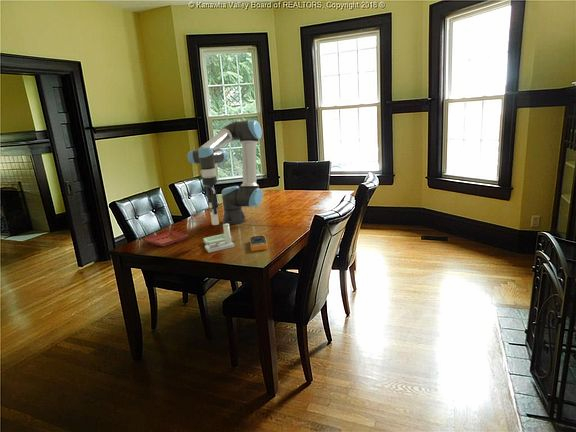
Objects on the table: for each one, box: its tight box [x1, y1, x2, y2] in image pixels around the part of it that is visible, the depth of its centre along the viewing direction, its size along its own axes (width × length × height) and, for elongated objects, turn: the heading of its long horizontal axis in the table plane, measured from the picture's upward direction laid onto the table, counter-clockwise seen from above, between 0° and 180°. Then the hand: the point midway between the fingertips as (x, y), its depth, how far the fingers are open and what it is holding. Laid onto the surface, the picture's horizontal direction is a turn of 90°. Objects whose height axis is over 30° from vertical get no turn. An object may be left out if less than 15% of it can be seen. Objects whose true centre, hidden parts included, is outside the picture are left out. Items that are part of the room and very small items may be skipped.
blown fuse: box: [208, 202, 220, 226], centre depth 205 cm, size 4×4×12 cm
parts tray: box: [202, 233, 234, 246], centre depth 209 cm, size 14×10×2 cm
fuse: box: [222, 223, 232, 244], centre depth 200 cm, size 3×3×12 cm
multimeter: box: [249, 234, 269, 252], centre depth 198 cm, size 9×18×3 cm, turn 8°
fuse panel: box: [204, 241, 235, 254], centre depth 200 cm, size 14×8×2 cm, turn 116°
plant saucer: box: [145, 230, 189, 248], centre depth 219 cm, size 18×18×3 cm
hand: (214, 218), depth 206 cm, fingers closed on blown fuse, 4 cm apart
